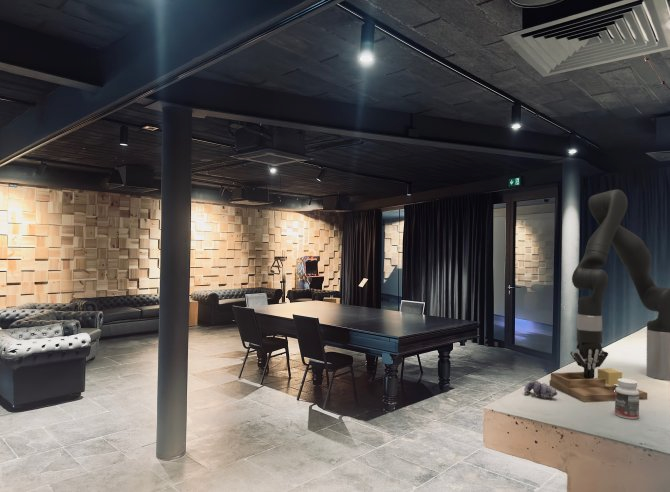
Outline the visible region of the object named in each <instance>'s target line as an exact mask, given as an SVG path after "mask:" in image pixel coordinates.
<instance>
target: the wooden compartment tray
mask: <svg viewBox="0 0 670 492" xmlns="http://www.w3.org/2000/svg"><path fill="white" fill-rule="evenodd" d="M594 379H598V377H597V378H596V377H594ZM549 386H552V387H553V388H555V389H556V391H560V392H562V393H564V394H565V395H568V396H570V397H572V398H575V399H576V400H578V401H580V402H582V403H593V402H594V403H597V402H598V403H599V402H600V403H601V402H615V392H614V390H615V389H616V387H618V386H616V385H608V384H605V387H589V388H566V387H564V386H562V385H560V384H557V383H555V382H553V381H551V379H549ZM636 389H637V390H638V391H639V401H641V400H643V401H644V400H648V392H646V391H643V390H640V389H638V388H636Z"/></svg>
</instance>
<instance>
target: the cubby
mask: <svg viewBox="0 0 670 492" xmlns="http://www.w3.org/2000/svg"><path fill="white" fill-rule="evenodd" d="M597 378H598V377H597ZM550 380H551V381H553V382H555V383H557V384H560V385H562V386H564V387H566V388H589V387H605V379H604V378H598V379H585V378H584V371H576V372H575V371H574V372H570V371H569V372H568V371H567V372H550Z"/></svg>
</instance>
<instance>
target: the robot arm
mask: <svg viewBox="0 0 670 492" xmlns="http://www.w3.org/2000/svg"><path fill="white" fill-rule="evenodd" d="M628 203H629V201H628V197H627V195H626V194H625V192H624V191H622V190H621V189H611V190H608V191H603V192H601V193H596V194H593V195H592V196H590V197H589V199H588V207H589V210H590V213H591V215H592V217H593V218H594V219H595V221H596V222H597V224H598V225H599V226H598V227H597V229H596V230H595V231H593V234H592V235H591V236H590V237H589V239H588V241H587V244H586V247H585V249H584V250H585V251H584V254H583V257H582V259H581V260H580V262H579V263H578V265H577V266H576V267H575V269H574V271H573V272H572V275H571V276H572V277H571V282H572V285H573V286H574V287H575V289H577V290H589V291H593V292H592V293H591V295H587V296H581V297H579V298H578V300H577V318H576V341H577V345H576V349H575V350H574V351H570V353H569V354H570V356H572V359H573V360H574V362H575V363H576V364H577V366H578V367H581V368H583V372H584V378H585V379H594V378H595V371H596V370H595V369H598V368H600V367H601V366H602V365H603V364H604V361H605V360H606V359H607V357H608V356H609V352H607V351H605V350H604V349H603V347H602V344H603V315H602V314H603V313H602V312H603V311H602V309H603V307H602V306H603V299H604V295H605V292H606V290H607V287H608V284H609V276H608V273H607V272H606V271H605V270H604V269H600V268H603V267H605V266H606V264H607V262H608V257H609V252H610V249H611V246H613V249H614V250H615V252H616V254H617V256H618V258H619V259H620V261H621V263H622V264H623V267H624V268H625V269H626V271H627V273H628V275H629V277H630V279H631V280H632V282H633V284H634V288H635V289H636V291H637V294H638V297H639V299H640V302H641V303H642V305H643V306H644V308H645V309H647V310H649V311H652V312H658V314H657V317H656V319H653V320H649V321H647V323H646V376H648V377H650V378H653V379H658V380H665V381H670V287H662V286H661V287H660V286H657V285H656V283H655V282H654V281H653V279H652V276H651V274H650V273H651V272H650V269H651V263H652V255H651V253H650V251H649V250H648V247H647V246H646V244H645V243H644V240H643V239H641V238H640V237H639V236H637V234H635V233H633V232H632V231H630V230H629V229H627V228H625V227H623V226H622V224H621V222H622V220H623V218H624V217H625V214H626V213H627V208H628Z"/></svg>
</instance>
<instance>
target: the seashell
mask: <svg viewBox="0 0 670 492" xmlns="http://www.w3.org/2000/svg"><path fill="white" fill-rule="evenodd" d="M523 391H524V394H526V395H527V396H530V395H531V394H532V393H531V392H532V391H533V393H534V395H535V396H536V397H540V398H543V399H547V400H548V399H550V398H554V397H555V396H557V395H558V392H557V389H555V388H553V387H552V386H550V385H549V384H547V383H546V382H544V383H541V382H540V381H538V380H533V381H529V382H528V383H526V384H525V385H524V388H523Z"/></svg>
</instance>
